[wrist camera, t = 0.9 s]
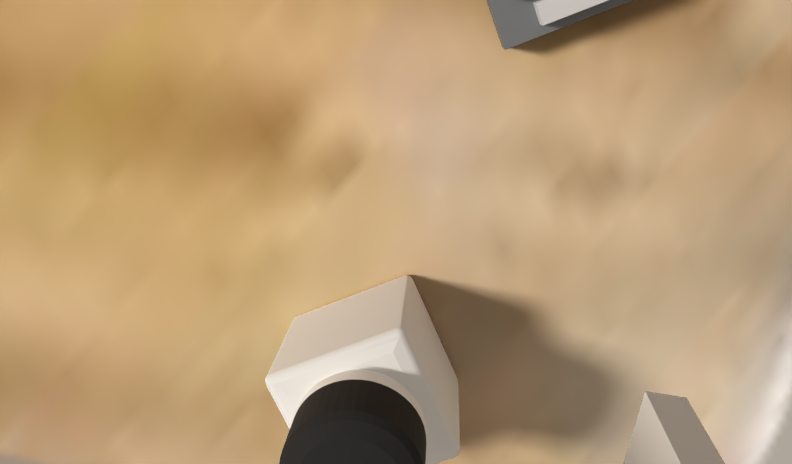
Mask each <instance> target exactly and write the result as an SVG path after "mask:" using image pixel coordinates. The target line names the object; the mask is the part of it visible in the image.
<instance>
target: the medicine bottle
mask: <svg viewBox="0 0 792 464" xmlns="http://www.w3.org/2000/svg"><path fill="white" fill-rule="evenodd" d="M265 382H266V386H267V387H268V389H269V391H270V393H271V395H272V397H273V399H274V401H275V403H276V404H277V406H278V408H279V410H280V412H281V414H282V416H283V418H284V419H285V421H286V423H287V425H288V427H289V429H290V431H289V433H288V436H287V439H286V442H285V445H284V447H283V450H282V454H281V457H280V464H436V463H439V462H442V461H445V460H448V459H451V458H454V457H456V456H458V454H459V452H460V428H459V391H458V379H457V376H456V374H455V372H454V370H453V368H452V365H451V363H450V361H449V359H448V356H447V354H446V352H445V350H444V347H443V345H442V343H441V341H440V339H439V336H438V334H437V332H436V330H435V327H434V325H433V323H432V321H431V319H430V316H429V314H428V312H427V310H426V307H425V305H424V303H423V301H422V298H421V296H420V294H419V292H418V290H417V287H416V285H415V283H414V281H413V279H412V278H411V276H408V275H405V276H402V277H399V278H397V279H394V280H391V281H389V282H386V283H383V284H381V285H378V286H375V287H373V288H370V289H367V290H365V291H362V292H359V293H357V294H354V295H351V296H349V297H346V298H343V299H341V300H338V301H335V302H333V303H330V304H327V305H325V306H322V307H319V308H317V309H314V310H311V311H309V312H306V313H304V314H301V315H298V316H296V317H295V318H294V319H293V321H292V323H291V325H290V327H289V329H288V332H287V334H286V336H285V338H284V340H283V342H282V344H281V347H280V349H279V351H278V353H277V355H276V357H275V359H274V361H273V364H272V366H271V368H270V370H269V372H268V374H267V376H266V379H265Z"/></svg>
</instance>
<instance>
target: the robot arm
mask: <svg viewBox="0 0 792 464" xmlns="http://www.w3.org/2000/svg"><path fill="white" fill-rule="evenodd" d="M624 464H725V463H724V461H723V460H722V458H721V456H720V455H719V453H718V451H717V449H716V448H715V446H714V444H713V443H712V441H711V439H710V437H709V436H708V434H707V432H706V431H705V429H704V427H703V425H702V424H701V422H700V420H699V419H698V417H697V415H696V413H695V412H694V410H693V408H692V406H691V405H690V403H689V401H688V400H687V398H685V397H678V396H672V395H666V394H660V393H653V392H647V391H645V394H644V397H643V400H642V404H641V407H640V410H639V414H638V417H637V420H636V424H635V427H634V430H633V434H632V437H631V440H630V444H629V447H628V450H627V454H626V457H625V461H624Z"/></svg>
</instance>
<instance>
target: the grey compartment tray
mask: <svg viewBox="0 0 792 464" xmlns="http://www.w3.org/2000/svg"><path fill="white" fill-rule="evenodd" d="M630 1H633V0H487V3H488V6H489V9H490V12H491V15H492V18H493V21H494V24H495V27H496V30H497V33H498V36H499V39H500V41H501V44H502V47H503V48H504V49H505V50H506V49H509V48H511V47H514V46H516V45H519V44H522V43H524V42H527V41H529V40H532V39H534V38H537V37H540V36H542V35H545V34H547V33H550V32H553V31H555V30H558V29H560V28H563V27H566V26H568V25H571V24H573V23H576V22H579V21H581V20H584V19H586V18H589V17H592V16H594V15H597V14H599V13H602V12H604V11H607V10H610V9H612V8H615V7H617V6H620V5H623V4H625V3H628V2H630Z"/></svg>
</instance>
